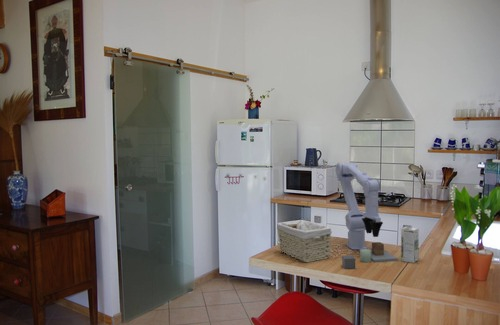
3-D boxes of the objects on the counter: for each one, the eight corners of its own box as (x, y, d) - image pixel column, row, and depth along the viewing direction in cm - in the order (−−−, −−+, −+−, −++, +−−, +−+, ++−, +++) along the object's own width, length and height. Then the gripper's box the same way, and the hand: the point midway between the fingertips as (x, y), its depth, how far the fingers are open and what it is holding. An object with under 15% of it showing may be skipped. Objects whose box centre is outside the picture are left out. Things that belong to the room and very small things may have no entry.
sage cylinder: (359, 260, 177) (358, 249, 176) (368, 259, 177) (368, 248, 177) (362, 263, 172) (362, 251, 172) (372, 262, 173) (372, 251, 172)
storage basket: (333, 258, 180) (333, 226, 179) (304, 264, 173) (303, 231, 172) (303, 247, 201) (303, 219, 201) (276, 252, 194) (275, 222, 193)
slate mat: (358, 251, 191) (358, 249, 191) (380, 250, 192) (380, 248, 192) (374, 262, 173) (374, 259, 173) (398, 260, 174) (398, 258, 174)
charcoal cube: (342, 266, 169) (342, 255, 169) (352, 265, 169) (352, 255, 169) (344, 269, 164) (344, 258, 164) (355, 268, 164) (355, 258, 164)
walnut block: (371, 253, 183) (371, 242, 183) (380, 252, 183) (380, 242, 183) (375, 255, 179) (375, 244, 179) (383, 255, 180) (383, 244, 179)
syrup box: (405, 258, 177) (404, 226, 177) (419, 260, 174) (418, 227, 173) (401, 261, 173) (400, 228, 173) (415, 263, 169) (414, 229, 169)
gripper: (357, 204, 190) (358, 232, 191) (369, 208, 176) (370, 238, 176) (371, 203, 191) (372, 231, 191) (384, 207, 176) (385, 237, 177)
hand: (372, 234), depth 184 cm, fingers open, 7 cm apart
